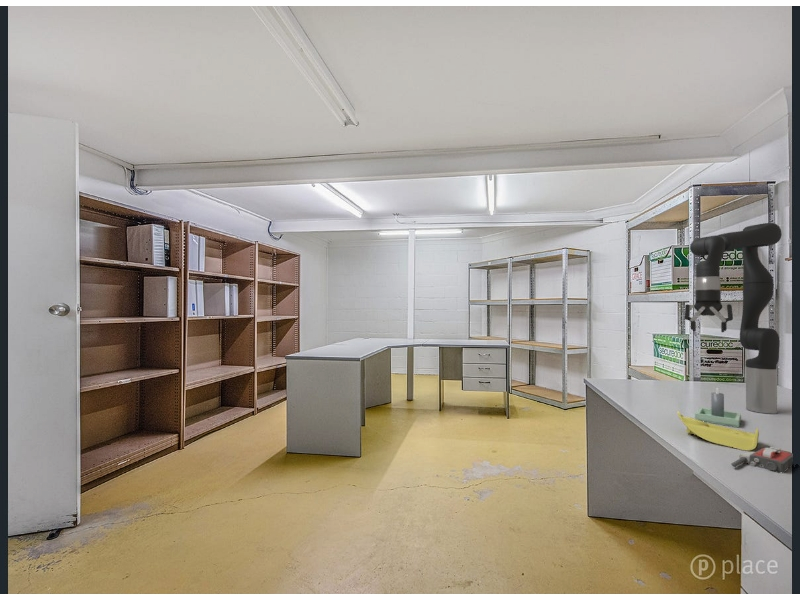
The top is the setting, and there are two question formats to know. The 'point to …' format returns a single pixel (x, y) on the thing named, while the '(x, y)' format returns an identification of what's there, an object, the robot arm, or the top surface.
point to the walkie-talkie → (767, 459)
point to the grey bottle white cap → (717, 403)
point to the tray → (727, 420)
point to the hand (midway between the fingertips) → (708, 331)
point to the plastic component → (721, 434)
